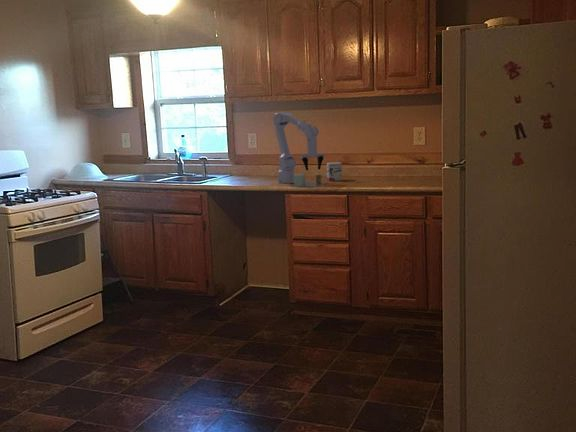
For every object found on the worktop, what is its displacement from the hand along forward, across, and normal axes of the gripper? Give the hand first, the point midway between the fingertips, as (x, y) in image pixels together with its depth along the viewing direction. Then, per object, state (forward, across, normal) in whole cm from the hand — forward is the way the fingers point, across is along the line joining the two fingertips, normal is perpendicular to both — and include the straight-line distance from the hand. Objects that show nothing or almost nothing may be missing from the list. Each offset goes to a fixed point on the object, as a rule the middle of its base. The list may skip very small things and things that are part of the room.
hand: (313, 169), depth 392 cm
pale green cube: (+9, -9, -2) cm, 13 cm away
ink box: (+10, +17, +10) cm, 22 cm away
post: (+9, +5, +4) cm, 11 cm away
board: (+10, -2, +2) cm, 10 cm away
